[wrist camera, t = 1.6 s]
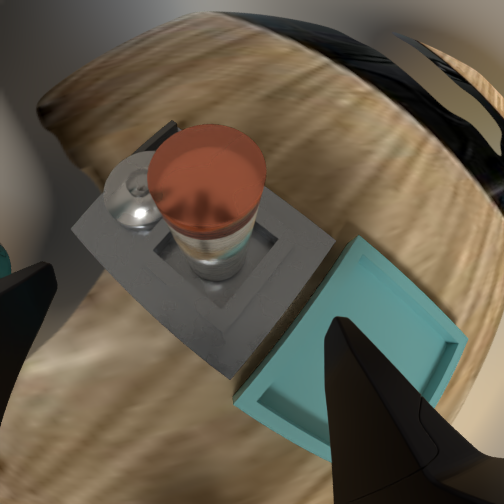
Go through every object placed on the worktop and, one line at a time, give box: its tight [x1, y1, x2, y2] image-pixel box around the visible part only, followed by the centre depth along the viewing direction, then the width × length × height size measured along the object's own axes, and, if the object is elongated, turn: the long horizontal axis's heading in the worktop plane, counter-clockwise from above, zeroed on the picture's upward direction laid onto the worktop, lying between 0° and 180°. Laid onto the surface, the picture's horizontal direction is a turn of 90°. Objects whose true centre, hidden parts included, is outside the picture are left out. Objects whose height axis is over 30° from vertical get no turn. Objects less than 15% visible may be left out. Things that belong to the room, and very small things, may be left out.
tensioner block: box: [71, 120, 336, 380], centre depth 18 cm, size 12×16×3 cm
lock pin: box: [147, 124, 266, 281], centre depth 14 cm, size 4×4×10 cm
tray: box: [233, 235, 468, 463], centre depth 17 cm, size 14×14×2 cm
